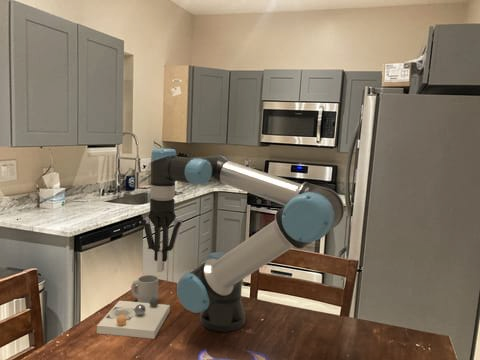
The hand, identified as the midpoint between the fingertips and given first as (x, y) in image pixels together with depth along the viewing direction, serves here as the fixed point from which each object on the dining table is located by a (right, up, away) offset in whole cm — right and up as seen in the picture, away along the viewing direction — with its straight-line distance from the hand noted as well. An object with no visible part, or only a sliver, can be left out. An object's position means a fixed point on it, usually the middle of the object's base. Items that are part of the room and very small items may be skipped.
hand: (160, 270), depth 129 cm
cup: (-10, -16, +18) cm, 26 cm away
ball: (-7, -13, +2) cm, 15 cm away
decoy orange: (-11, -14, -4) cm, 19 cm away
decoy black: (-4, -13, +9) cm, 16 cm away
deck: (-9, -17, +3) cm, 20 cm away
